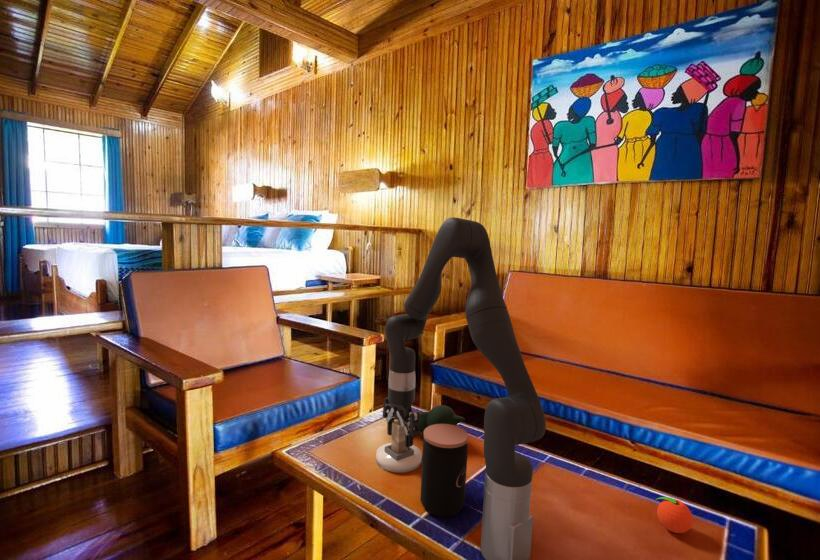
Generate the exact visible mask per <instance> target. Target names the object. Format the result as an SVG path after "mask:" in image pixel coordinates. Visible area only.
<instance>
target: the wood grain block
mask: <svg viewBox="0 0 820 560" xmlns="http://www.w3.org/2000/svg"><path fill="white" fill-rule="evenodd" d="M394 421H395V422H392V435H391V442H390V443H391V450H392V451H393V452H395V453H396V454H397V455H398V454H400V453H403V452H406V451H408V448H407V447H405V434H406V433H405V430H404V428H403V427H402V426H401V423H400V422H399V421H398V420H397V421H396V420H394ZM405 423H406V422H405ZM407 427H408V430H410V429H409V426H407Z"/></svg>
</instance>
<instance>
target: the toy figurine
mask: <svg viewBox="0 0 820 560" xmlns="http://www.w3.org/2000/svg"><path fill="white" fill-rule="evenodd" d="M417 386H418V385H417V381H415V388H416V387H417ZM465 420H466V418H465V417H463V416H460V415H458V414H456V412H455V411H454V409H453V408H451V407H450V406H448V405H444V404H439V405H436V406H434V407H432V408H431V409H430V410H429V411H424V412H421V413H420V412H419V433H418V434H420V437H421V438H422V439H425V438H424V430H425V429H426V428H427V427H428V426H430V425H434V424H451V425H455V426H457V425H458V424H460V423H462V422H465ZM405 422H406V423H408V422H409V419H408V420H407V421H405ZM414 429H415V427H414ZM409 430H410V426H409Z"/></svg>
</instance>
